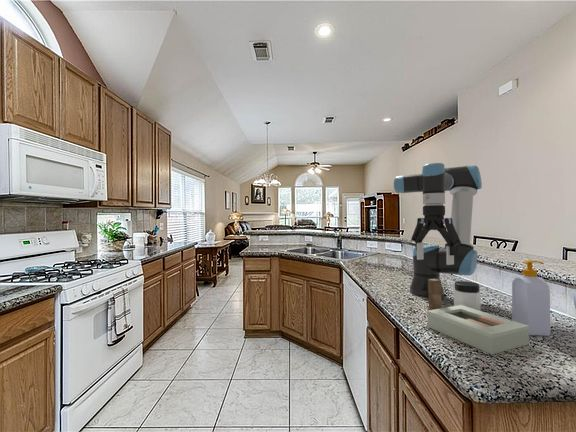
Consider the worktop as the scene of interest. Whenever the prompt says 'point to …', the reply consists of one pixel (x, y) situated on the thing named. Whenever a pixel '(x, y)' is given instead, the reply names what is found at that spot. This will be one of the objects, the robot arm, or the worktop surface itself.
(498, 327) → the keyhole box
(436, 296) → the bolt peg
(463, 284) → the jar
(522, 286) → the soap bottle
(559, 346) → the worktop surface
